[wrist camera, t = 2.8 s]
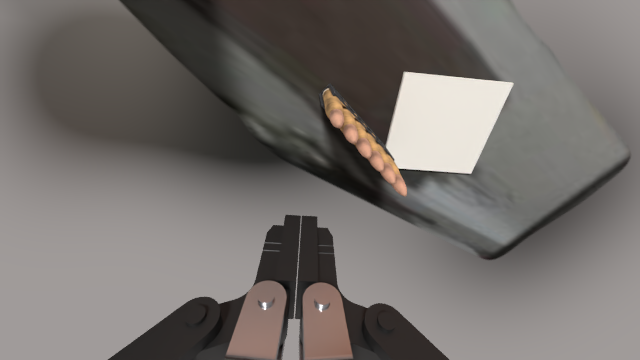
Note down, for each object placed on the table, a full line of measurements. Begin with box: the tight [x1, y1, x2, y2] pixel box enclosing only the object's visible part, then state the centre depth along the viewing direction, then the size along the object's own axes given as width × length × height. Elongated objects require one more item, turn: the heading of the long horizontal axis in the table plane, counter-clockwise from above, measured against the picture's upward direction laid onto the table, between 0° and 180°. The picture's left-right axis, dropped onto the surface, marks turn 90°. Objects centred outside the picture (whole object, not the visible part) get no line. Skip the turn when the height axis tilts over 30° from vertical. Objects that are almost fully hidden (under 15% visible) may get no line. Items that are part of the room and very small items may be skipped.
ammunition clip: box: [319, 84, 407, 196], centre depth 24 cm, size 11×2×12 cm, turn 44°
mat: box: [385, 72, 514, 174], centre depth 30 cm, size 13×12×1 cm
